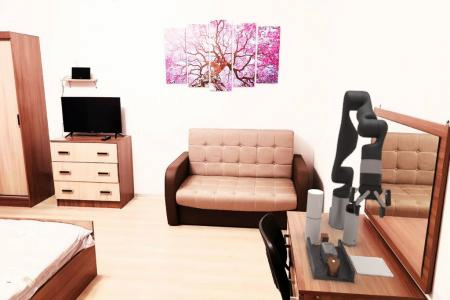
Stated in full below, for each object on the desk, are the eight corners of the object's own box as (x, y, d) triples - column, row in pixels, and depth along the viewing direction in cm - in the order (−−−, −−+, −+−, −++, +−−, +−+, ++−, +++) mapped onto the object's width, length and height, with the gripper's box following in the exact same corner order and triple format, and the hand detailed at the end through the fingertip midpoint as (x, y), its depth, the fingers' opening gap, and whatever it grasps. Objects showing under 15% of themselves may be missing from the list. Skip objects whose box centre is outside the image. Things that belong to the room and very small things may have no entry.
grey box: (320, 250, 145) (321, 241, 144) (332, 251, 145) (333, 242, 144) (324, 261, 137) (325, 251, 136) (336, 262, 136) (337, 252, 135)
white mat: (349, 256, 147) (349, 255, 147) (381, 259, 145) (382, 258, 145) (357, 274, 133) (357, 273, 133) (393, 277, 132) (393, 276, 131)
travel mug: (357, 247, 155) (362, 207, 151) (343, 245, 156) (347, 206, 152) (355, 241, 161) (359, 203, 157) (341, 239, 162) (345, 201, 158)
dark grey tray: (306, 246, 155) (307, 231, 153) (339, 249, 153) (341, 234, 151) (313, 278, 130) (315, 261, 128) (353, 282, 128) (355, 265, 126)
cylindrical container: (303, 241, 160) (307, 193, 154) (305, 235, 166) (309, 188, 161) (318, 244, 157) (322, 195, 152) (320, 238, 163) (324, 190, 158)
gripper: (386, 173, 124) (385, 217, 123) (348, 171, 126) (346, 213, 124) (395, 173, 117) (393, 219, 115) (353, 170, 118) (352, 216, 117)
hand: (369, 216), depth 120 cm, fingers open, 8 cm apart
